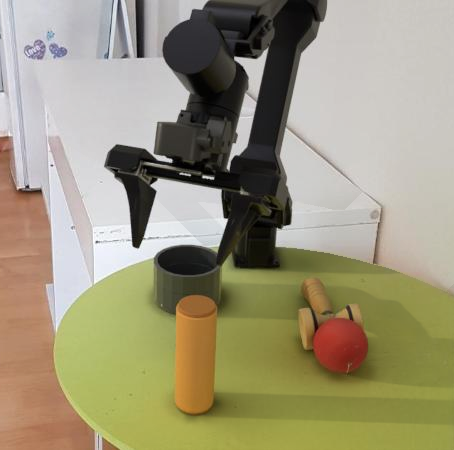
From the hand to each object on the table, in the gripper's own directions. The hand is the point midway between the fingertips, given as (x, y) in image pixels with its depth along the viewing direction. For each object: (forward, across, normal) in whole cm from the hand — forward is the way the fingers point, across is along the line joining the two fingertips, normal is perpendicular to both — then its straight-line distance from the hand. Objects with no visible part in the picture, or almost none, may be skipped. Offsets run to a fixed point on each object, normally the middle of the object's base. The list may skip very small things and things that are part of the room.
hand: (176, 256), depth 77 cm
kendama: (+4, +14, +19) cm, 24 cm away
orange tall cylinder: (+14, +4, +5) cm, 15 cm away
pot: (+3, -5, +20) cm, 21 cm away
